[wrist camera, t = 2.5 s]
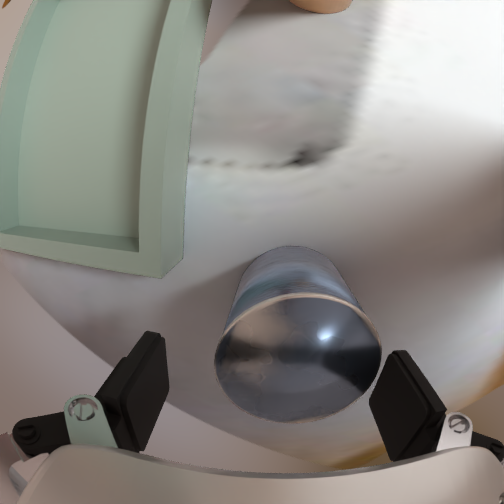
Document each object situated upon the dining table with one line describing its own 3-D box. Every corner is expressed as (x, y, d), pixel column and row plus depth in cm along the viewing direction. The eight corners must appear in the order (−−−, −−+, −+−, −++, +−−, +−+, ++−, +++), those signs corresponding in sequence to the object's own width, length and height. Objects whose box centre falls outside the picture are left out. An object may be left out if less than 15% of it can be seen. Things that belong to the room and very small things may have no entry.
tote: (226, -52, 10) (218, -78, 6) (182, 258, 16) (161, 278, 13) (62, -6, 11) (42, -18, 7) (19, 236, 17) (-8, 246, 14)
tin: (353, 251, 15) (403, 302, 9) (331, 346, 17) (353, 423, 10) (241, 239, 16) (216, 285, 9) (233, 337, 18) (213, 415, 11)
